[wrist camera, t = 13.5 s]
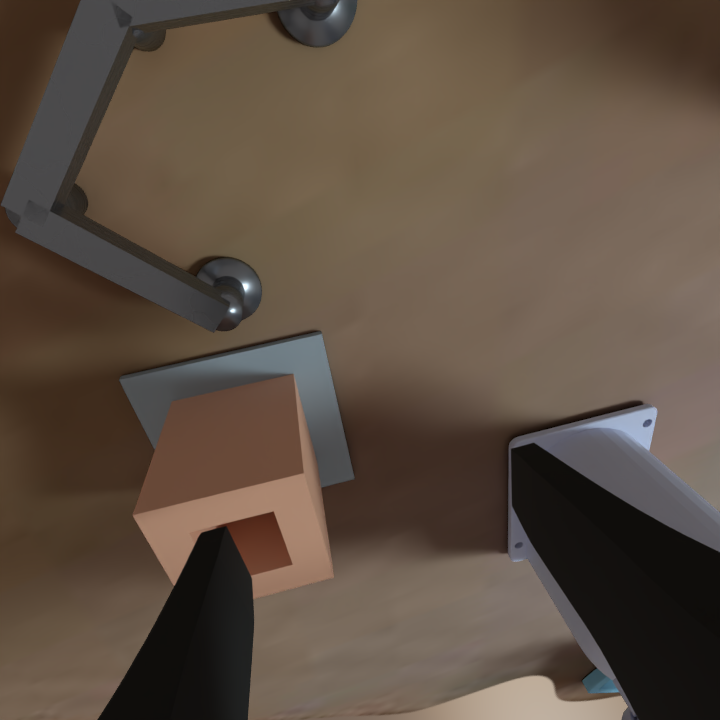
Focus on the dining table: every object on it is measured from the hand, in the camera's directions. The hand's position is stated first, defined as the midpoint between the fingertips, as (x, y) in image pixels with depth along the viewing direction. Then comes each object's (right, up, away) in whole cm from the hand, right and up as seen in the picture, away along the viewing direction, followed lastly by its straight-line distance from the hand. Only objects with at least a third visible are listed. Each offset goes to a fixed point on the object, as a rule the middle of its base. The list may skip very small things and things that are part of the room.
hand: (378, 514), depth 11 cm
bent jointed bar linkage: (-6, +10, +4) cm, 12 cm away
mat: (-5, +1, +9) cm, 10 cm away
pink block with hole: (-5, +1, +8) cm, 10 cm away
